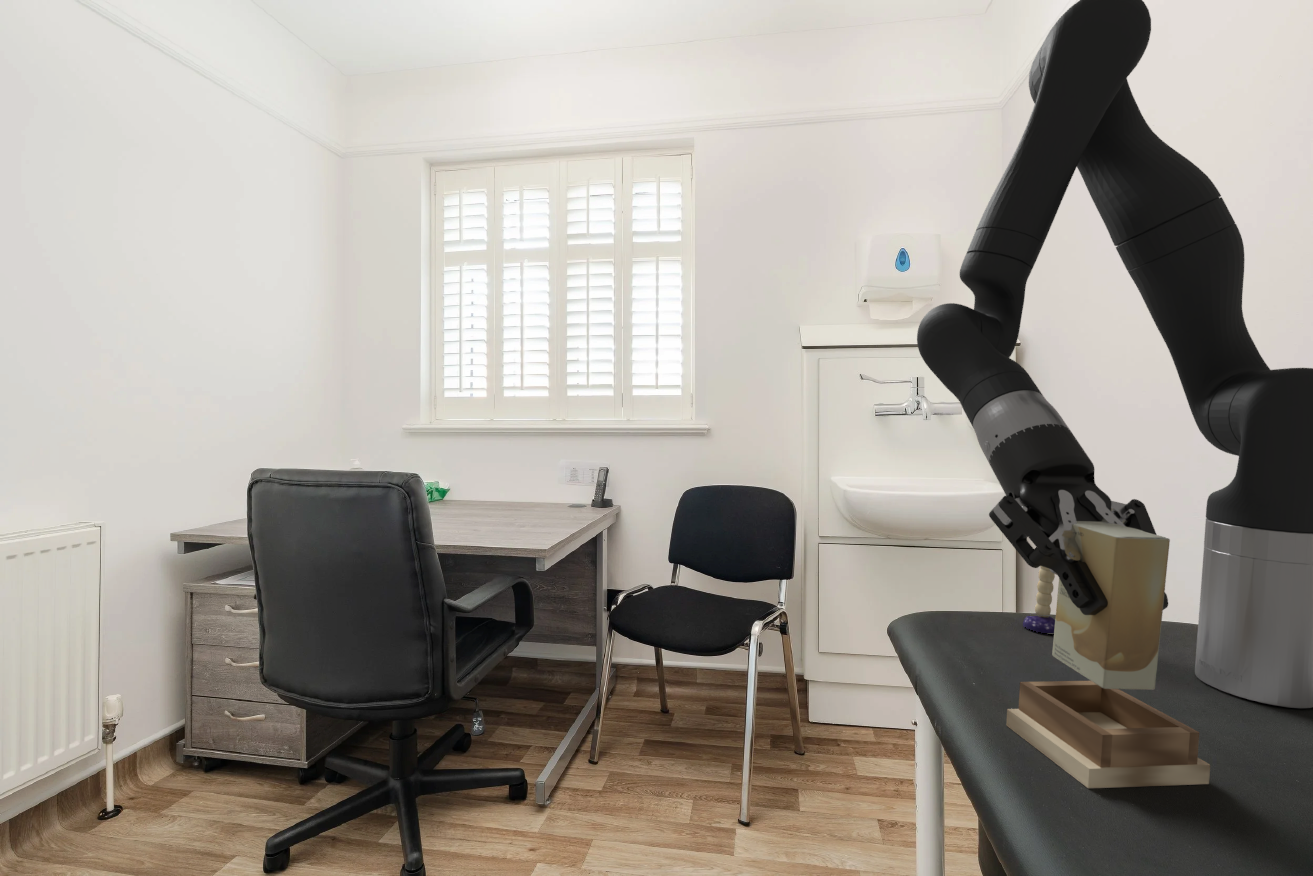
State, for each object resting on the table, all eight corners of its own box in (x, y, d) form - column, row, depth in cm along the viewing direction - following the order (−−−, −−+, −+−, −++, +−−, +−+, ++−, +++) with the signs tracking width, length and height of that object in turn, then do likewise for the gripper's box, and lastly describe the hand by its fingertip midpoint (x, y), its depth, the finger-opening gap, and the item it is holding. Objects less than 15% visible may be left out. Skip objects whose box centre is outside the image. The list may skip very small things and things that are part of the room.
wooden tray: (1108, 722, 55) (1111, 679, 55) (1209, 784, 46) (1212, 732, 46) (1006, 725, 54) (1008, 681, 54) (1088, 788, 45) (1091, 736, 45)
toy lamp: (1053, 624, 81) (1061, 501, 80) (1074, 637, 76) (1082, 507, 76) (1016, 622, 81) (1023, 500, 81) (1034, 635, 77) (1042, 505, 76)
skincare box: (1049, 657, 53) (1058, 519, 52) (1098, 658, 53) (1107, 520, 52) (1105, 691, 46) (1116, 534, 46) (1161, 692, 47) (1172, 536, 46)
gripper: (979, 418, 55) (1072, 587, 44) (1121, 424, 57) (1247, 589, 45) (942, 469, 61) (1017, 631, 49) (1072, 473, 62) (1174, 631, 51)
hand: (1126, 610), depth 48 cm, fingers closed on skincare box, 4 cm apart
